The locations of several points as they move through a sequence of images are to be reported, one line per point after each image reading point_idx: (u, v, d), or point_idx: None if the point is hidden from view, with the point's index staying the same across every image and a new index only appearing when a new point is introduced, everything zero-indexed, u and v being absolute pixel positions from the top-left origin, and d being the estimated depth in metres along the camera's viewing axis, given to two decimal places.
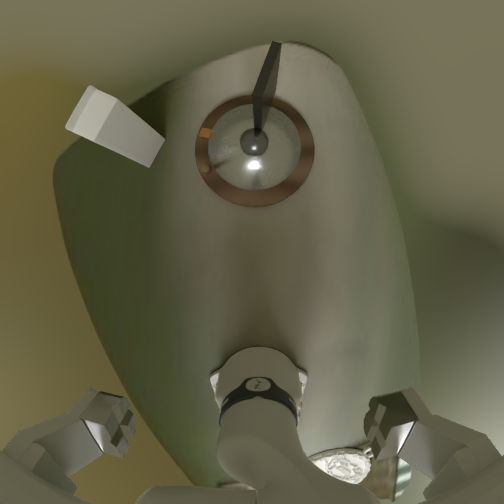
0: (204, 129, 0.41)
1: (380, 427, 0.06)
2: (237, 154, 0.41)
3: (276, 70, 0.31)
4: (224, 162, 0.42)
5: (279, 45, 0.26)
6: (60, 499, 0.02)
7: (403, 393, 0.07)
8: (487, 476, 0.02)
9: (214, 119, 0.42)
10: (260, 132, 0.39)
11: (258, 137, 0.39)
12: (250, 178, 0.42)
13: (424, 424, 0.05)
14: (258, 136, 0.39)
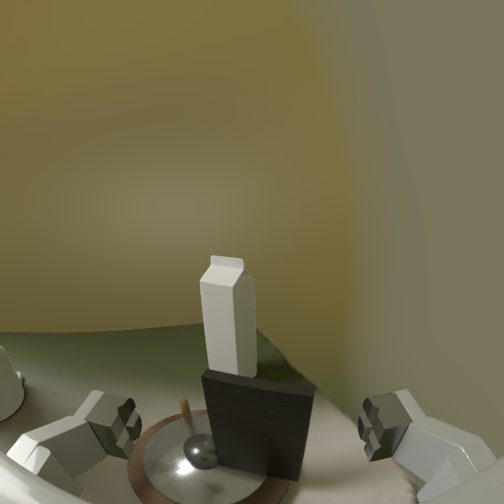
0: None
1: (373, 429, 0.06)
2: None
3: (288, 433, 0.19)
4: (187, 427, 0.29)
5: (306, 393, 0.18)
6: (60, 499, 0.02)
7: (398, 394, 0.07)
8: (487, 476, 0.02)
9: None
10: (213, 454, 0.23)
11: (206, 451, 0.23)
12: (160, 446, 0.25)
13: (418, 427, 0.05)
14: (208, 452, 0.23)
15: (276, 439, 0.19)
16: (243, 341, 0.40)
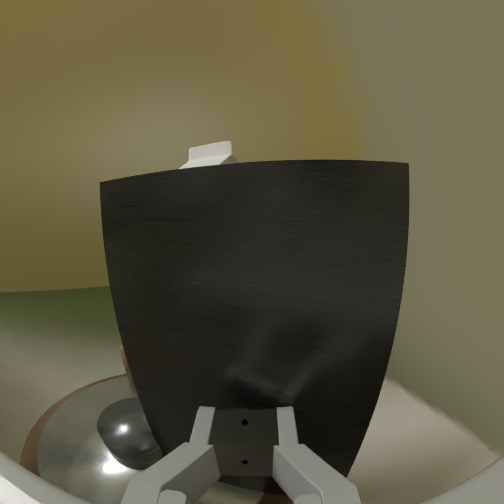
0: None
1: None
2: None
3: (333, 358, 0.07)
4: (126, 390, 0.17)
5: (385, 162, 0.05)
6: (60, 499, 0.02)
7: (278, 411, 0.07)
8: (487, 476, 0.02)
9: None
10: (150, 438, 0.10)
11: (138, 431, 0.11)
12: (74, 416, 0.13)
13: (280, 452, 0.05)
14: (141, 433, 0.11)
15: (292, 388, 0.07)
16: None
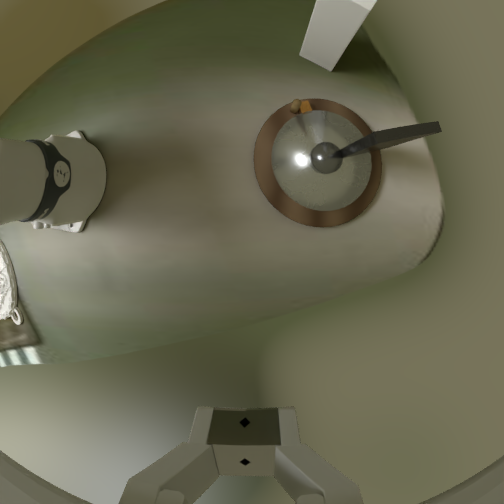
0: (307, 103, 0.34)
1: None
2: (304, 149, 0.36)
3: (410, 139, 0.27)
4: (288, 142, 0.36)
5: (438, 130, 0.22)
6: (60, 499, 0.02)
7: (280, 411, 0.07)
8: (487, 476, 0.02)
9: (353, 120, 0.36)
10: (339, 158, 0.34)
11: (333, 159, 0.34)
12: (289, 176, 0.37)
13: (282, 452, 0.05)
14: (334, 158, 0.34)
15: (399, 142, 0.28)
16: None
